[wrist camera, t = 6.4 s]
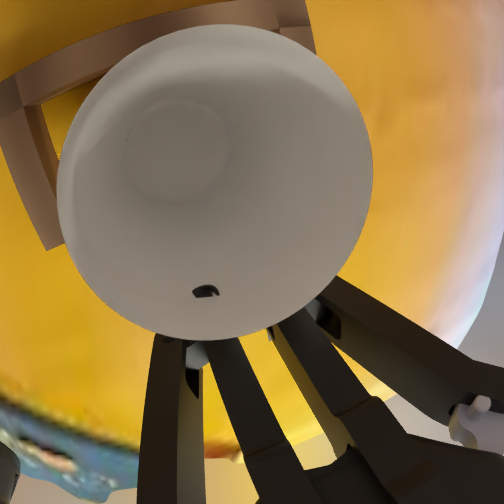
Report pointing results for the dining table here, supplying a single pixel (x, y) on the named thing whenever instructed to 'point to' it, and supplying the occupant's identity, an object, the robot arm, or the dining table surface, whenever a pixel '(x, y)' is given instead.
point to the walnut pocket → (94, 66)
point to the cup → (214, 181)
